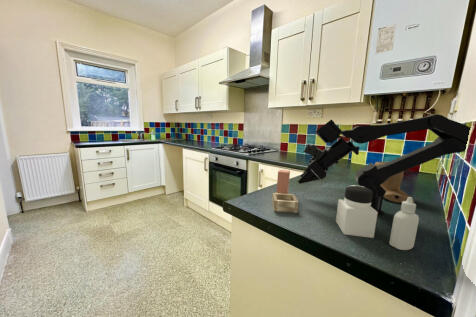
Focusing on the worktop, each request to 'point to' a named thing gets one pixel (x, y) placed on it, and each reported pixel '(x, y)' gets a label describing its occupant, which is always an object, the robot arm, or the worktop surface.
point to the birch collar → (284, 202)
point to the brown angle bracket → (394, 187)
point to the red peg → (283, 181)
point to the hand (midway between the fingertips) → (300, 179)
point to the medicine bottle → (357, 212)
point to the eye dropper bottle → (404, 226)
